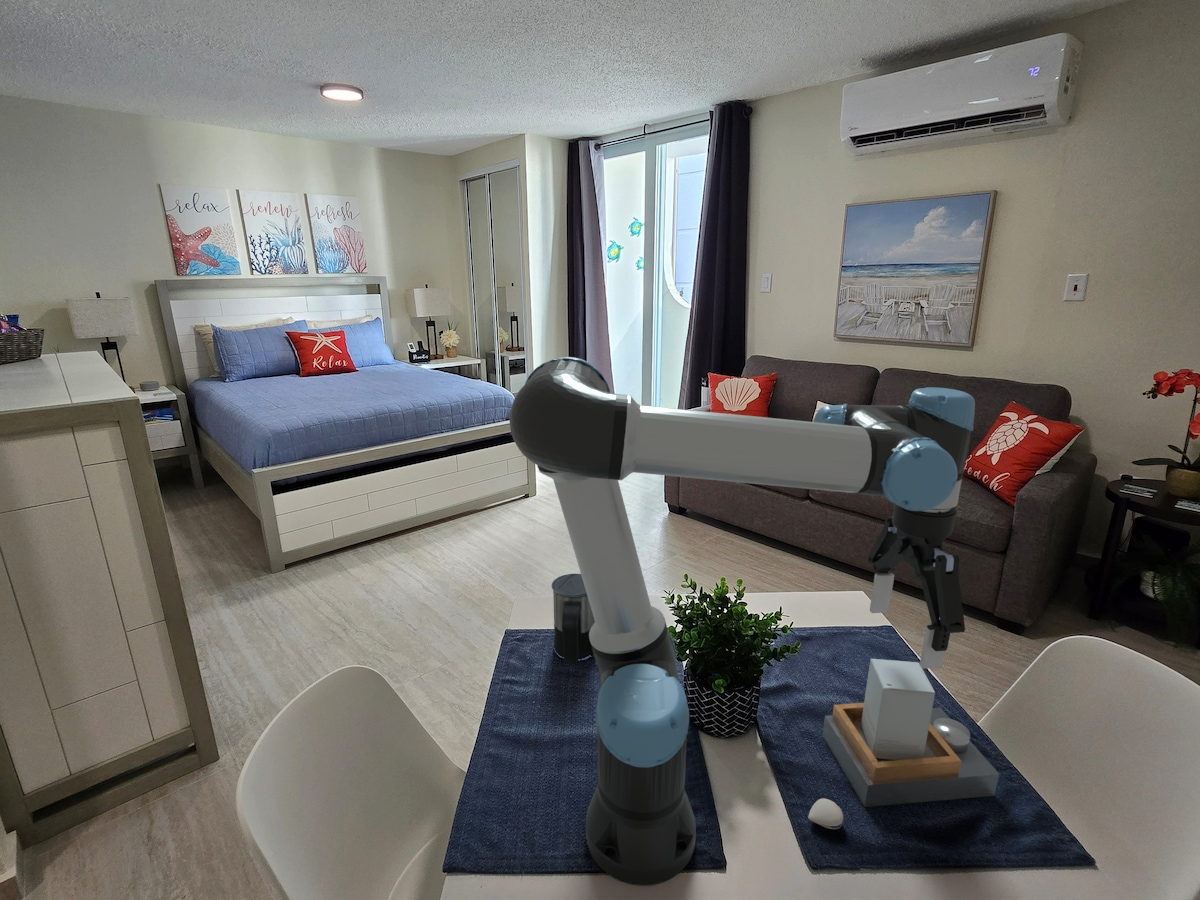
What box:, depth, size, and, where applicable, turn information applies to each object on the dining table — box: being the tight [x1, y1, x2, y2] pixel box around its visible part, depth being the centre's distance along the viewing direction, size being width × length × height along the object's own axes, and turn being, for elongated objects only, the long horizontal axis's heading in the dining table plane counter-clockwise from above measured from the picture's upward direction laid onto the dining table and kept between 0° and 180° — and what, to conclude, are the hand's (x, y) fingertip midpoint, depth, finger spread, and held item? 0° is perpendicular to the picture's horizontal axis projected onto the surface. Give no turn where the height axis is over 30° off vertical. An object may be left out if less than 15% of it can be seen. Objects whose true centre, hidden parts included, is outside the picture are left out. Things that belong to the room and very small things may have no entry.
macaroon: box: [807, 797, 844, 830], centre depth 87 cm, size 4×5×2 cm
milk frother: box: [551, 573, 595, 664], centre depth 122 cm, size 14×16×15 cm
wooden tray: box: [821, 702, 1000, 808], centre depth 96 cm, size 20×14×6 cm
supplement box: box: [861, 658, 936, 760], centre depth 94 cm, size 7×7×13 cm
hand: (902, 637), depth 90 cm, fingers open, 13 cm apart
